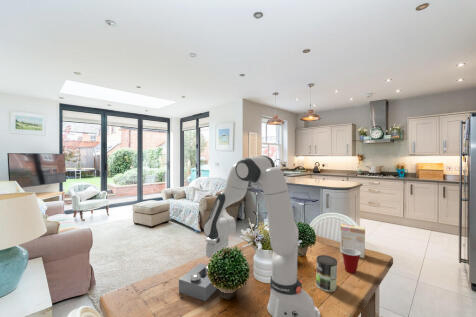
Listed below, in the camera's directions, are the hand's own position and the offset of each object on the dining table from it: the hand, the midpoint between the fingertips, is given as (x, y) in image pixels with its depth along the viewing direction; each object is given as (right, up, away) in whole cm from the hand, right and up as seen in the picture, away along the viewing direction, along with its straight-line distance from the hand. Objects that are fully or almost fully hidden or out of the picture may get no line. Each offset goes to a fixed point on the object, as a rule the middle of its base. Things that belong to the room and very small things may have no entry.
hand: (218, 259), depth 129 cm
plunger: (-10, -6, -20) cm, 23 cm away
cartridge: (-2, -6, -3) cm, 7 cm away
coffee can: (+58, -9, -12) cm, 60 cm away
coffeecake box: (+92, -9, +26) cm, 96 cm away
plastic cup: (+79, -9, +4) cm, 80 cm away
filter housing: (-6, -8, -13) cm, 17 cm away
